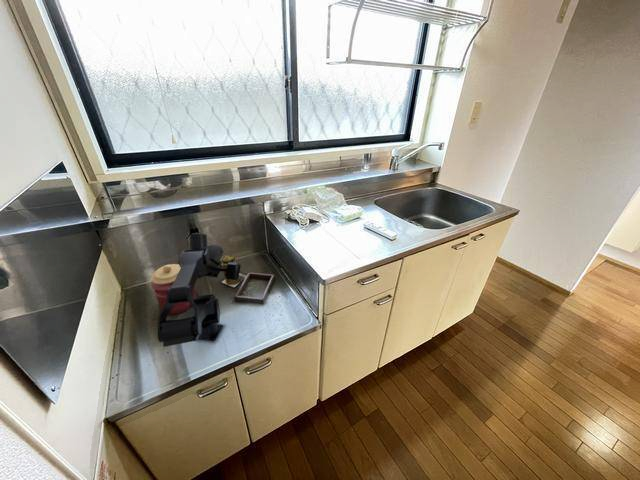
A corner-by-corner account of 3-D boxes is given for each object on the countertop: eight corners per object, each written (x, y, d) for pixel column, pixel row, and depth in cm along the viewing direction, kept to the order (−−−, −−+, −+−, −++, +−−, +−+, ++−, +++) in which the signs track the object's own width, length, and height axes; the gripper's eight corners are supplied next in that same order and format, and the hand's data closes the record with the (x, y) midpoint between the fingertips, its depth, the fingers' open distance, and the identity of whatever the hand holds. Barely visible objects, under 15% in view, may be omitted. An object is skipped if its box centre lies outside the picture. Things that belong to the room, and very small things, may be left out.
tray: (263, 303, 101) (262, 299, 100) (235, 300, 102) (234, 296, 101) (274, 278, 114) (274, 274, 113) (249, 276, 116) (248, 272, 114)
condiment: (221, 282, 112) (215, 259, 105) (235, 271, 118) (230, 249, 112) (234, 287, 109) (229, 264, 103) (247, 276, 115) (243, 254, 109)
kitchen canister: (201, 304, 100) (190, 267, 91) (165, 320, 93) (149, 282, 84) (191, 286, 109) (180, 251, 100) (156, 300, 102) (141, 263, 93)
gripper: (234, 245, 89) (250, 254, 104) (183, 241, 91) (206, 250, 106) (228, 277, 87) (245, 282, 102) (176, 272, 88) (200, 278, 104)
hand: (224, 272), depth 103 cm, fingers open, 9 cm apart
